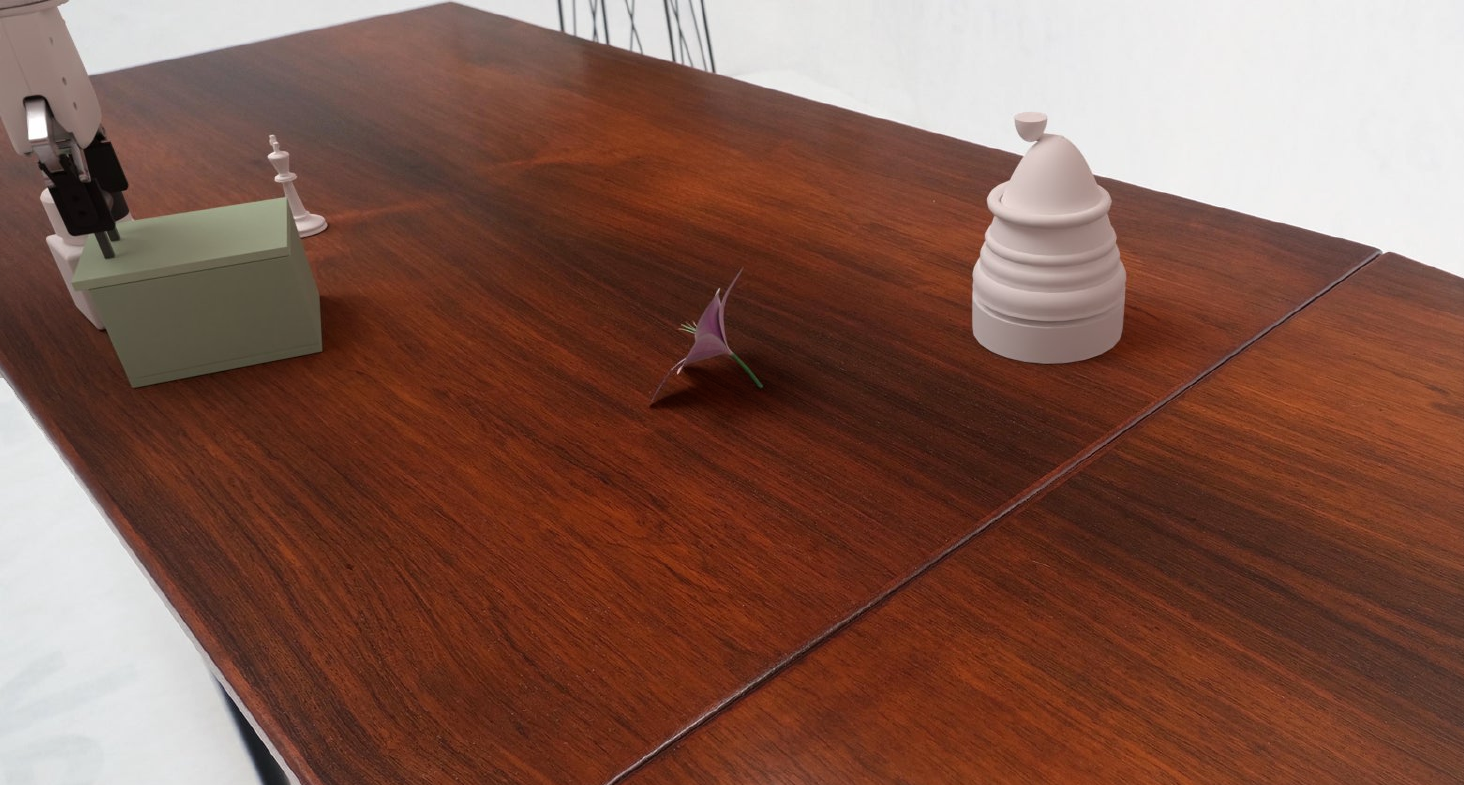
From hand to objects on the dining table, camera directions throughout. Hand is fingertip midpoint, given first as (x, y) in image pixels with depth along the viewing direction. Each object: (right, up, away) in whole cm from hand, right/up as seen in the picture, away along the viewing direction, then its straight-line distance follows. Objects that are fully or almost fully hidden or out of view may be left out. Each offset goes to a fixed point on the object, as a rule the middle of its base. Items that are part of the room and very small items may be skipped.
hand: (101, 211), depth 97 cm
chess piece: (+1, +5, +30) cm, 30 cm away
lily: (+49, -14, 0) cm, 51 cm away
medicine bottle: (-7, -6, +15) cm, 18 cm away
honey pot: (+77, -9, +7) cm, 78 cm away
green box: (+5, -9, +9) cm, 14 cm away
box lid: (+5, -2, +4) cm, 6 cm away
